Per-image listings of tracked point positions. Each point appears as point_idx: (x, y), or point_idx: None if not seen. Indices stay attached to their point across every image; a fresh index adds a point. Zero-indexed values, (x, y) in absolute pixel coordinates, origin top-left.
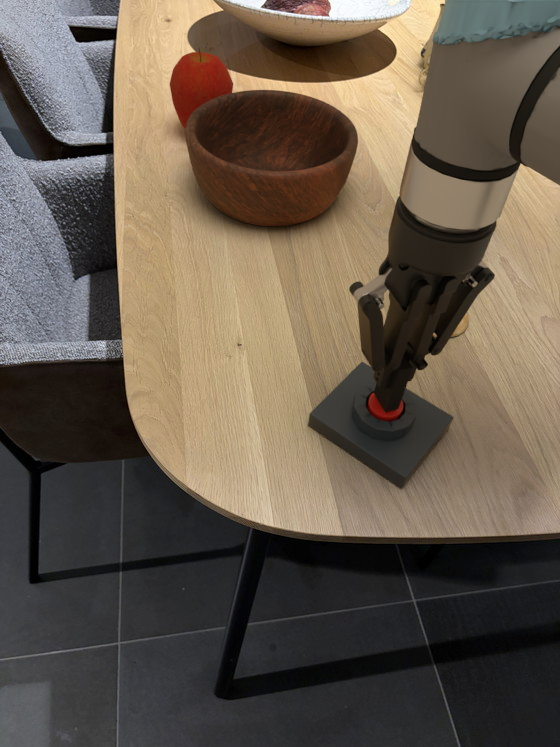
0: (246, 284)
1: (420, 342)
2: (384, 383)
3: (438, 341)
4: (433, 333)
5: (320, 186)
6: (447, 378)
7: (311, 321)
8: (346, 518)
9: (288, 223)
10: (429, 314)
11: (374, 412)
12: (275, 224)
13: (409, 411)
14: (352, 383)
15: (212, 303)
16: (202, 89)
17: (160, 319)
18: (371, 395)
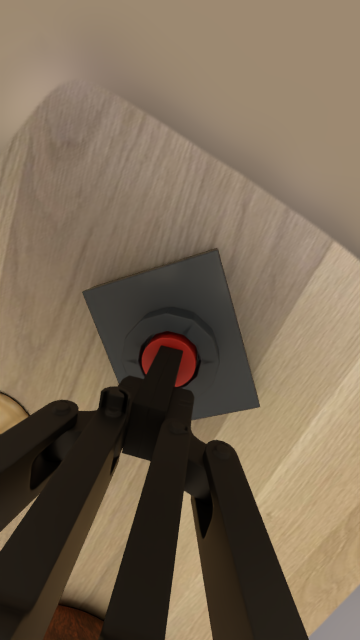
0: (180, 576)
1: (99, 465)
2: (185, 398)
3: (46, 435)
4: (16, 409)
5: None
6: (43, 347)
7: None
8: (314, 254)
9: (80, 617)
10: (30, 614)
11: (195, 360)
12: (95, 623)
13: (144, 332)
14: None
15: None
16: None
17: (302, 591)
18: (178, 385)
